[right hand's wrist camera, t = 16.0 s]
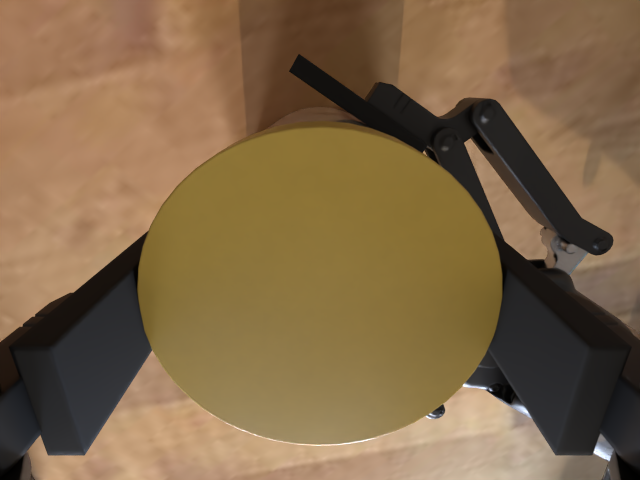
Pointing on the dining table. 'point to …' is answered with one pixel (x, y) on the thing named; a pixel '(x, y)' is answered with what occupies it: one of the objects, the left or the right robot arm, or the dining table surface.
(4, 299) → the dining table surface
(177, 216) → the lid
